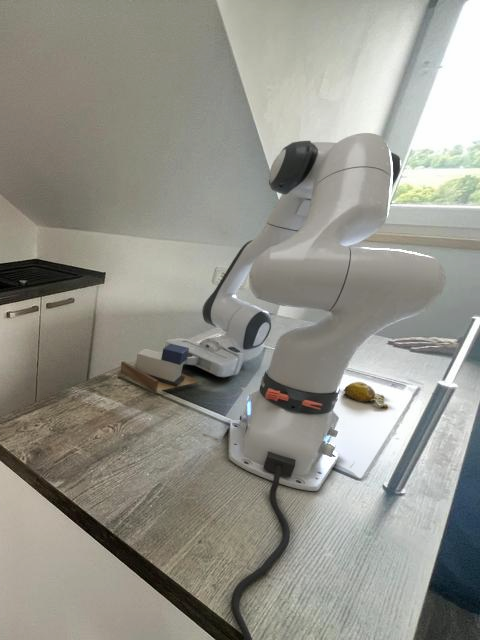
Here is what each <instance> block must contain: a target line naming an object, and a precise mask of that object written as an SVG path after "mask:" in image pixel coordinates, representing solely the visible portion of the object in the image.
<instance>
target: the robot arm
mask: <svg viewBox="0 0 480 640" xmlns="http://www.w3.org/2000/svg"><path fill="white" fill-rule="evenodd" d="M401 169H402V161H401V158H400V155H398V154H396V153H394V152H392V151H390V147H389V144H388V142H387V140H386V139H385V138H383V136H381V135H379V134H376V133H371V132H360V133H356V134H352V135H349V136H346V137H344V138H342V139H341V140H339V141H337V142H331V141H330V142H328V141H327V142H326V141H320V142H319V141H314V142H311V140H299V141H293V142H291V143H289V144H287V145H286V146H284V147H283V148H282V149H281V151H280V152H279V154H278V155H277V156H276V157H275V159H274V160H273V162H272V164H271V167H270V171H269V176H268V177H269V178H268V185H269V187H270V189H271V190H272V191H273V192H275V193H278V194H281V195H280V197H279V199H278V200H277V201H276V204H275V205H274V206H273V209H272V211H271V212H270V215H269V217H268V219H267V221H266V223H265V225H264V227H263V228H262V230H261V232H260V233H258V235H257V236H256V237H255V238H253V239H252V240H249V241H247V242H245V244H243V246H242V247H241V248H240V249H239V251H238V252H237V253H236V255H235V257H234V258H233V260H232V262H231V263H230V265H229V266H228V268H227V270H226V271H225V272H224V274H223V276H222V278H221V280H220V281H219V283H218V285H217V286H216V288H214V290H213V292H212V294H210V295H209V297H207V299H206V301H205V302H204V303H203V306H202V309H201V310H202V311H201V312H202V318H203V321H204V322H205V323H206V324H208V325H210V326H212V327H215V328H218V329H220V330H222V331H223V332H225V333H224V334H223V335H219V336H213V337H208V338H204V339H202V340H201V341H199V343H198V342H196V341H194V340H191V339H188V338H184V337H183V338H179V337H178V338H170V339H166V340H165V343H164V344H165V345H164V348H165V347H166V346H168V345H169V344H175V345H179V346H183V347H187V348H189V351H188V356H187V359H186V360H185V361H184V363H183V365H190V366H195V367H197V368H199V369H201V370H203V371H205V372H207V373H210V374H212V375H214V376H216V377H219V378H226V377H232V376H237V375H239V373H240V371H241V369H242V364H243V363H246V362H249V361H252V360H254V359H255V358H257V357H258V356H259V355H261V353H262V352H263V350H264V347H265V341H266V340H267V338H268V336H269V335H270V333H271V330H272V318H271V315H270V313H269V312H268V311H267V310H265V309H263V308H260V307H258V306H256V305H254V304H251V303H249V302H247V301H244V300H242V299H240V298H238V297H237V293H238V290H239V289H240V287H241V286H242V285H243V283H244V281H245V280H246V279H247V276H248V285H249V289H250V291H251V293H252V294H253V296H254V297H255V298H256V299H258V300H261V301H264V302H267V303H271V304H274V305H277V306H282V307H288V308H295V309H296V308H298V309H305V310H314V311H321V312H327V313H326V314H325V316H324V317H322V318H321V319H320V320H318V321H317V322H314V323H311V324H308V325H304V326H298V327H295V328H293V329H290V330H288V331H286V332H285V333H283V334H282V335H281V336H279V338H278V339H277V341H276V344H275V346H274V351H273V353H272V356H271V360H270V362H269V366H268V369H267V370H265V372H264V373H263V375H262V377H261V381H260V385H259V389H258V390H256V391H253V392H250V393H249V395H248V396H247V398H246V399H247V400H246V404H245V407H244V410H243V413H242V414H241V415H240V416H239V419H231V420H230V422H229V423H230V425H229V426H228V429H227V432H228V435H227V436H228V437H227V438H228V439H227V441H228V459H229V460H230V461H231V462H232V463H233V464H234V465H236V466H238V467H239V468H240V469H241V468H242V469H243V470H245V471H247V472H250V473H251V474H252V475H253V474H254V475H256V476H258V477H261V478H263V479H266V480H268V481H271V482H272V483H271V487H270V490H269V500H270V504H271V507H272V509H273V511H274V513H275V515H276V517H277V518H278V520H279V522H280V523H281V526H282V536H281V540H280V542H279V544H278V546H277V547H276V548H275V549H274V551H273V552H271V554H270V555H269V556H268V557H267V558H266V560H265V561H264V562H263V563H262V565H261V566H260V567H258V569H256V570H255V571H253V572H251V573H249V575H247V576H246V577H244V578H243V579H242V580H241V581H240V582H239V583H238V584H237V585H236V586H235V588H234V590H233V593H232V595H231V600H230V603H231V605H230V606H231V610H232V614H233V616H234V619H235V621H236V623H237V626H238V627H239V630H240V632H241V634H242V637H243V640H253V637H252V635H251V632H250V630H249V628H248V626H247V624H246V621H245V620H244V617H243V616H242V613H241V610H240V600H241V596H242V594H243V592H244V591H245V589H247V587H248V586H250V585H251V584H252V583H254V582H255V581H257V580H259V578H261V577H263V575H265V574H266V573H267V572H268V571H269V570H270V568H271V567H272V566H273V565H274V563H275V562H276V561H277V560H278V559H279V558H280V557H281V555H282V554H284V552H285V550H286V549H287V547H288V546H289V545H288V544H289V542H290V535H291V530H290V526H289V522H288V521H287V519H286V517H285V515H284V514H283V513H282V511H281V509H280V507H279V505H278V503H277V490H278V487H279V485H282V486H283V485H284V486H286V487H290V488H293V489H297V490H301V491H307V492H317V491H319V490H320V488H321V487H322V486H323V484H324V482H325V481H326V479H327V478H328V476H329V474H330V473H331V472H332V470H333V468H334V467H335V465H336V464H337V463H338V460H339V456H340V454H339V452H337V451H336V450H335V449H336V447H337V445H335V444H334V443H331V439H332V438H336V437H337V436H338V433H339V430H338V429H336V427H337V424H338V422H339V419H340V417H339V416H338V414H337V413H336V412H335V411H334V408H335V405H336V403H337V402H338V400H339V397H340V395H339V394H340V391H341V389H340V387H339V386H340V384H341V382H342V379H343V377H344V375H345V374H346V373H345V372H346V371H347V368H348V367H349V365H350V363H351V361H352V359H353V357H354V355H355V354H356V352H357V351H358V350H359V349H360V348H361V347H362V345H363V344H364V343H366V342H367V341H368V340H369V339H370V338H372V337H373V336H374V335H376V334H377V333H379V332H380V331H382V330H384V329H385V328H387V327H389V326H390V325H393V324H396V323H397V322H400V321H402V320H405V319H408V318H412V317H415V316H418V315H419V314H421V313H423V312H424V311H426V310H428V309H429V308H430V307H432V306H433V305H434V304H435V303H436V302H437V301H438V300H439V298H440V296H442V294H443V292H444V289H445V287H446V271H445V268H444V267H443V265H442V263H441V262H440V261H439V260H438V259H437V258H436V257H433V256H429V255H425V254H422V253H417V252H414V251H413V252H412V251H407V250H402V249H393V248H391V249H390V248H376V247H375V248H374V247H357V246H354V247H353V246H352V245H355V244H358V243H360V242H362V241H364V240H366V239H368V238H369V237H371V236H373V235H374V234H376V233H377V232H378V231H379V230H380V229H381V228H382V227H383V226H384V225H385V223H386V221H387V220H388V217H389V211H390V201H391V193H392V187H393V186H394V185H395V183H396V181H397V180H398V177H399V175H400V173H401Z"/></svg>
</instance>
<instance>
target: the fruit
mask: <svg viewBox="0 0 480 640" xmlns="http://www.w3.org/2000/svg"><path fill="white" fill-rule="evenodd" d="M343 392H345V394H346V396H348V397H349V398H351V399H352V400H355V401H356V402H363V403H364V402H368V401H375V405H376V406H377V407H378V408H380V407H381V408H389V406H388V404H386V403H384V402H385V401H384V400H385V396H384V395H383V394H377V393H376V392H375V390H374V389H373V388H372V386H370V385H368V384H367V383H365V382H362V381H356V382H352V383H350V384H348V385H347V386H345V388H344V389H343ZM348 397H347V398H348Z"/></svg>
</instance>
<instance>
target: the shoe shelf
mask: <svg viewBox="0 0 480 640" xmlns="http://www.w3.org/2000/svg"><path fill="white" fill-rule="evenodd" d="M119 369H120V370H119V371H120V373H122V374H123V375H125V376H126V377H128V378H129V379H131V380H133V381H135V382H136V383H137V384H139V385H141V386H142V387H144V388H146V389H147V390H149V391H150V392H152V393H156V392H161V391H164V390H170V389H174V388H178V387H183V386H186V385H191V384H196V383H199V382H200V381H198V380H197V379H195V378H192V377H191V376H189V375H187V374H185V373H184V372H181V376H184V377H185V378H184V381H182V382H181V383H180V384H179V385H178V386H177V387H175V386H172V385H169V384H165V383H162V382H159V381H158V380H156V379H155V378H153V377H151V376H149V375H148V374H146V373H144V372H142V371H141V370H139V369H137V368H135V366H134V365H132V364H130V363H128V362H126V361H121V364H120V368H119Z"/></svg>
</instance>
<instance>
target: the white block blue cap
mask: <svg viewBox="0 0 480 640" xmlns="http://www.w3.org/2000/svg"><path fill="white" fill-rule="evenodd" d="M188 351H189V348H187V347H183V346H179V345H175V344H169V345H168V346H166V347H165V346H164V347H163V348H162V352H161V351H156V350H152V349H149V348H144V349H142V350H140V351H139V352H137V355H136V361H135V366H134V367H135V368H137V369H139V370H141V371H142V372H144V373H146V374H148V375H149V376H151V377H153V378H155V379H156V380H158V381H159V382H162V383H165V384H169V385H172V386H175V387H174V388H178V387H177V386H178V385H179V384H180V383H181V382H182V381H184V378H185V377H184V376H181V373H183V372H182V371H183V367H184V364H183V363H184V361H185V360H186V359H187V356H188Z"/></svg>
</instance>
